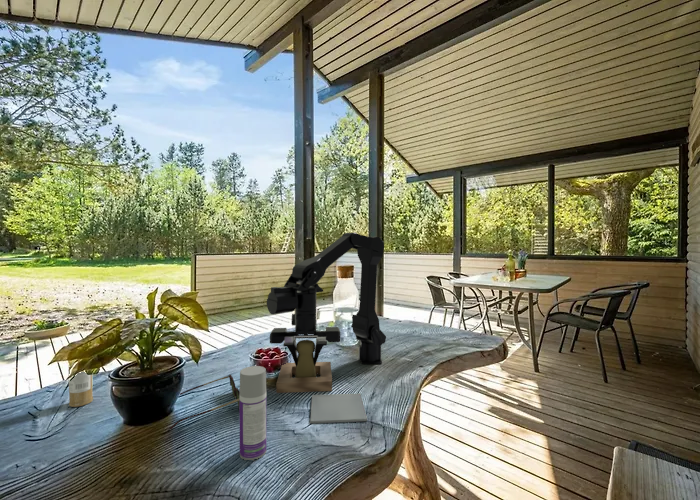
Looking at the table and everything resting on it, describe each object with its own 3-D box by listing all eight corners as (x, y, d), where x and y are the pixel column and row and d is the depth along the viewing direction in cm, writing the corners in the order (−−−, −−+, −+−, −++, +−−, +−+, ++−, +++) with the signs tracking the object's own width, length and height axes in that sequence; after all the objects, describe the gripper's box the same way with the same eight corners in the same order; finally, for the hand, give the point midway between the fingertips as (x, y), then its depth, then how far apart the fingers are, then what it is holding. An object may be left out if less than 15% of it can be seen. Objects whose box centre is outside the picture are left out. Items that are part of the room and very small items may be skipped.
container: (243, 445, 63) (242, 366, 63) (268, 444, 63) (268, 365, 63) (236, 461, 58) (236, 376, 58) (264, 460, 59) (264, 375, 58)
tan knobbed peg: (318, 376, 95) (318, 338, 95) (314, 385, 89) (314, 344, 89) (297, 375, 96) (297, 337, 96) (291, 384, 90) (292, 343, 90)
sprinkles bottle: (95, 397, 82) (94, 342, 82) (90, 405, 78) (89, 347, 78) (71, 400, 80) (70, 344, 80) (65, 409, 76) (64, 350, 76)
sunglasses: (243, 417, 74) (241, 395, 73) (167, 442, 67) (164, 418, 66) (232, 391, 86) (230, 372, 86) (166, 410, 79) (164, 389, 79)
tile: (360, 395, 84) (360, 393, 84) (367, 421, 72) (367, 418, 72) (312, 397, 83) (312, 395, 83) (310, 423, 71) (310, 421, 71)
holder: (330, 370, 100) (330, 361, 100) (332, 391, 86) (332, 381, 86) (282, 371, 99) (282, 363, 99) (276, 392, 85) (276, 383, 85)
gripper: (338, 303, 101) (338, 355, 101) (275, 304, 99) (275, 356, 100) (340, 311, 90) (340, 369, 90) (269, 312, 88) (269, 371, 89)
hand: (305, 366), depth 92 cm, fingers closed on tan knobbed peg, 4 cm apart
